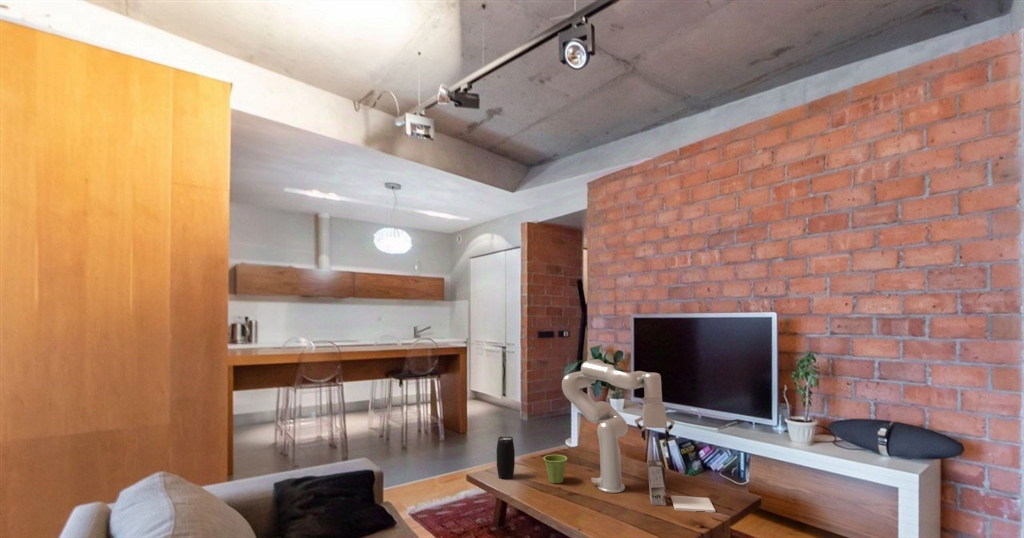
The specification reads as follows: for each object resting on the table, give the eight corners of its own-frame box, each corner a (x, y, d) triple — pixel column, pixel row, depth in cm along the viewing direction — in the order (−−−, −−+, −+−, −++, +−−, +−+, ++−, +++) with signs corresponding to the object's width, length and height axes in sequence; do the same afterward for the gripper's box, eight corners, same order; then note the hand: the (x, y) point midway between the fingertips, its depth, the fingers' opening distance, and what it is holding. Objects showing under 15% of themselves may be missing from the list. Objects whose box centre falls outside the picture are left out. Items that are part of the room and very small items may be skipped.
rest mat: (674, 510, 192) (674, 507, 192) (670, 497, 204) (670, 495, 205) (715, 512, 189) (715, 510, 189) (708, 500, 201) (708, 497, 201)
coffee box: (666, 505, 196) (664, 467, 198) (651, 504, 197) (649, 466, 199) (664, 497, 205) (662, 460, 207) (649, 496, 206) (647, 459, 208)
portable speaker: (493, 476, 235) (493, 437, 237) (509, 472, 240) (508, 434, 242) (502, 481, 228) (502, 441, 230) (518, 477, 233) (517, 438, 235)
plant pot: (571, 479, 229) (571, 456, 230) (561, 487, 219) (560, 463, 220) (550, 475, 235) (550, 453, 236) (539, 482, 225) (539, 459, 226)
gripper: (634, 402, 204) (636, 441, 202) (674, 402, 200) (677, 442, 198) (633, 399, 211) (635, 437, 209) (672, 399, 208) (674, 438, 206)
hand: (655, 439), depth 204 cm, fingers open, 9 cm apart
